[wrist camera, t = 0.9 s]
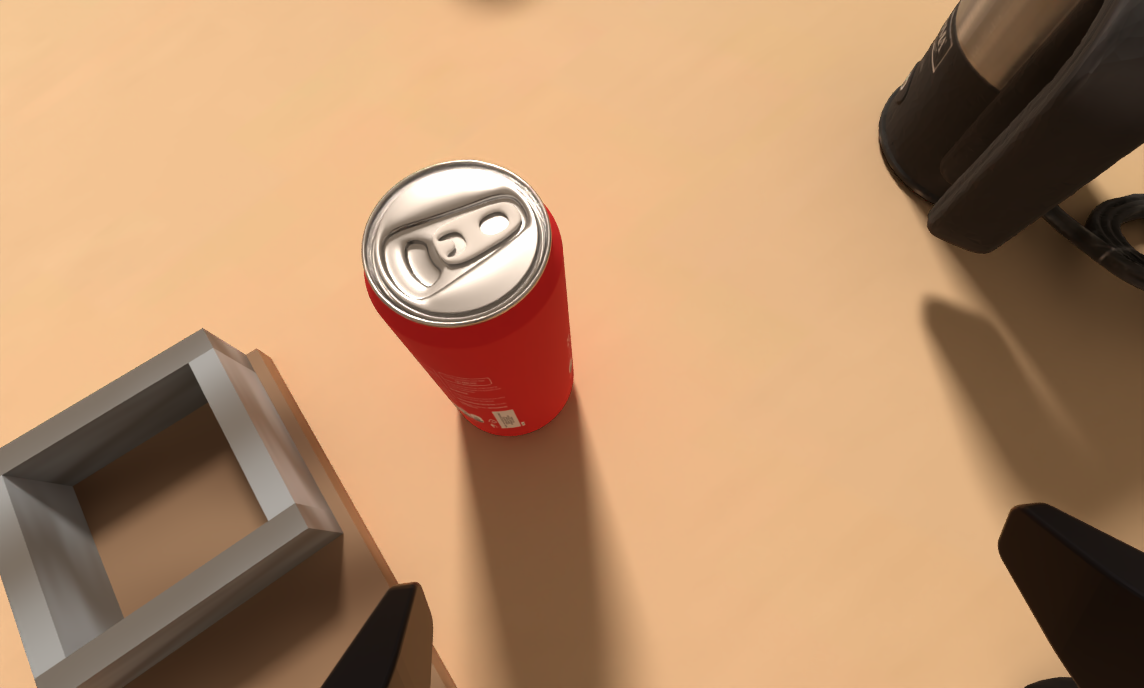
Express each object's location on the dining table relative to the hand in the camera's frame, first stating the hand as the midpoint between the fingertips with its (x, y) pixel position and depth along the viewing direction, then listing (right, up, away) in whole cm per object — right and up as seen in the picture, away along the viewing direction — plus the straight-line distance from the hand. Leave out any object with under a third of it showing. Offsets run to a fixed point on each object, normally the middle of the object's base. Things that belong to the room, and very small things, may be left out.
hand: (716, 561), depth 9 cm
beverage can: (-5, +1, +17) cm, 18 cm away
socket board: (-14, -8, +13) cm, 21 cm away
